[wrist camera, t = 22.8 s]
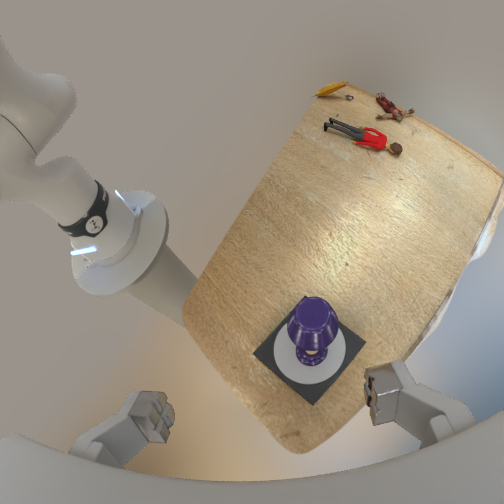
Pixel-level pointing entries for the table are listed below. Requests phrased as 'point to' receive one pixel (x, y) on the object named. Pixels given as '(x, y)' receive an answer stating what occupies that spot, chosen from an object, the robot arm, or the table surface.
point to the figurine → (391, 109)
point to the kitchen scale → (302, 376)
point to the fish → (331, 89)
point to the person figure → (365, 136)
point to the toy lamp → (312, 329)
